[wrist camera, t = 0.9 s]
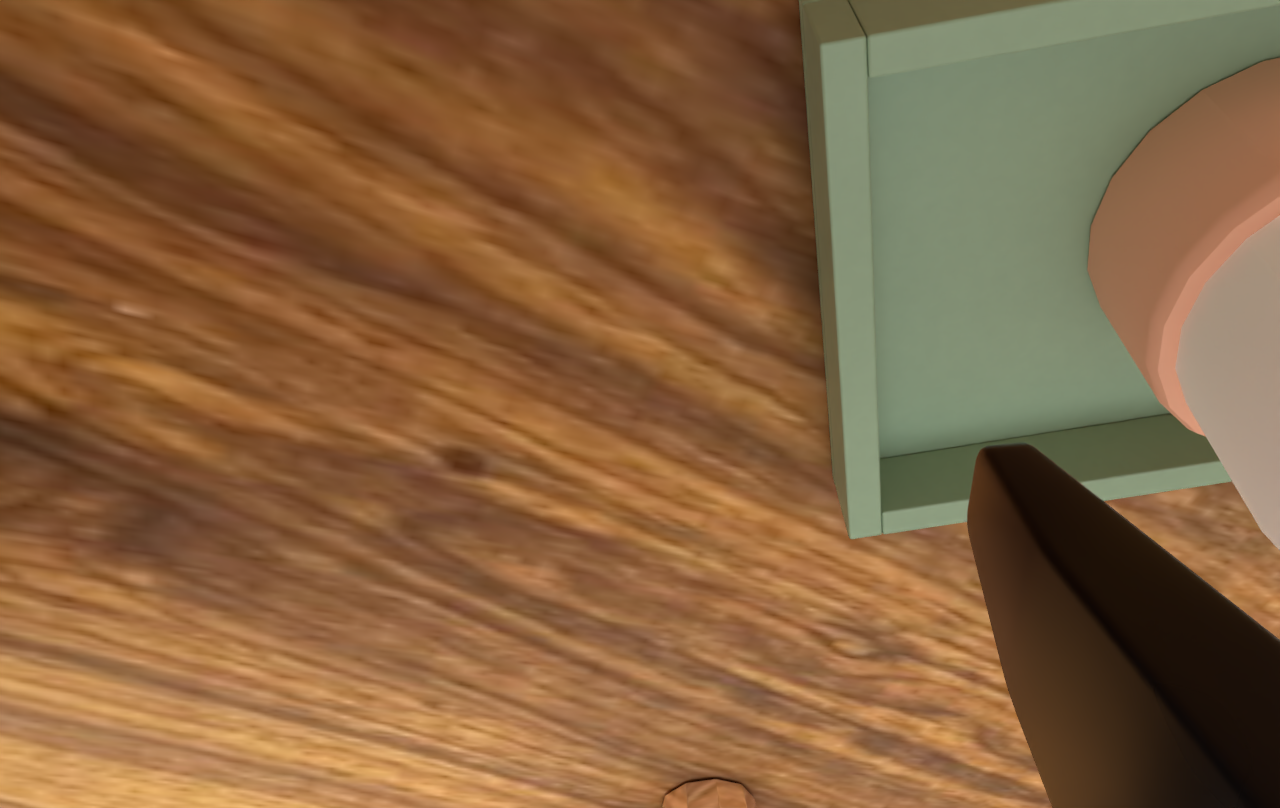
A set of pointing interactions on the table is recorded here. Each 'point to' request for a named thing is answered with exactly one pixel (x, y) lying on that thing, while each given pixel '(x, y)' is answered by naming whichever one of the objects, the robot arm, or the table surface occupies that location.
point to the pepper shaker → (1205, 274)
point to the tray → (991, 236)
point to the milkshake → (709, 795)
